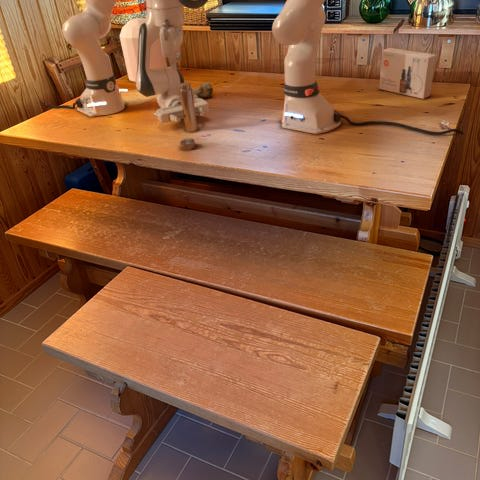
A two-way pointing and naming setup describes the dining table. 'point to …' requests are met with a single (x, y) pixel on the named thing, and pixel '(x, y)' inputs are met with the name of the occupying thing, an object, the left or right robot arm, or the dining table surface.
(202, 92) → the rock
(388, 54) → the skincare box
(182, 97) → the brown cylinder
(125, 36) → the container
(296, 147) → the dining table surface
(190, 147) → the lid
